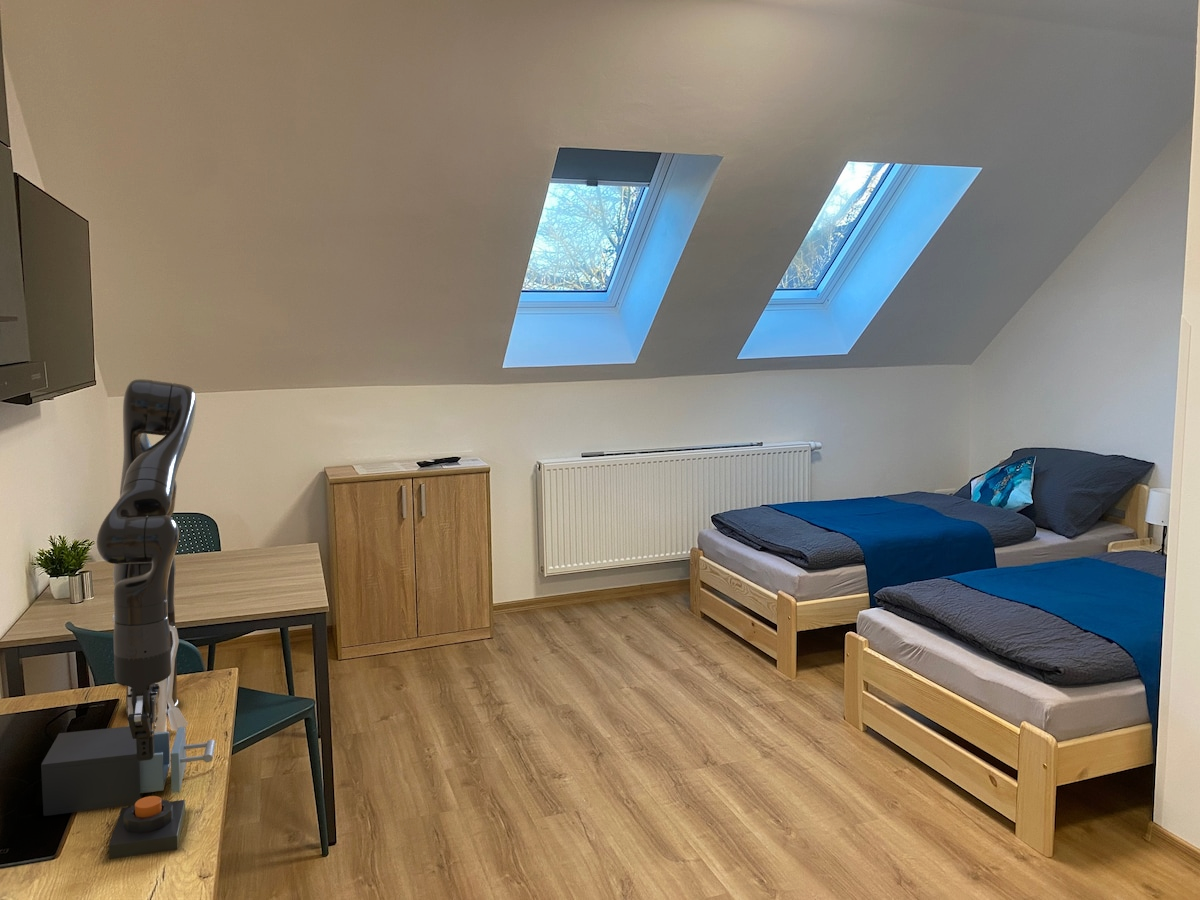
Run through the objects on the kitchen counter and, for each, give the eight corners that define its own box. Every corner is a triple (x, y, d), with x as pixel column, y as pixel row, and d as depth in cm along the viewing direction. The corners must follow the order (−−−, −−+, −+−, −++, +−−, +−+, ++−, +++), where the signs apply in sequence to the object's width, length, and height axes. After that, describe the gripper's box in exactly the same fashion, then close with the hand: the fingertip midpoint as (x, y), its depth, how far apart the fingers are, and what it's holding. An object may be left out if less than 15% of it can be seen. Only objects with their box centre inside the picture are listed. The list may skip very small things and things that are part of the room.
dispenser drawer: (216, 760, 158) (215, 723, 158) (212, 788, 149) (211, 749, 148) (106, 773, 153) (104, 735, 152) (93, 803, 143) (92, 762, 142)
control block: (122, 820, 140) (121, 796, 139) (185, 812, 143) (184, 788, 142) (109, 859, 129) (108, 833, 129) (177, 849, 132) (176, 824, 132)
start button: (137, 808, 137) (136, 797, 136) (163, 805, 138) (162, 794, 138) (133, 820, 133) (132, 809, 133) (160, 817, 134) (159, 806, 134)
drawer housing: (150, 771, 155) (148, 724, 154) (139, 804, 145) (138, 753, 144) (61, 781, 151) (58, 733, 150) (43, 816, 140) (40, 764, 139)
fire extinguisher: (187, 741, 167) (184, 611, 164) (114, 749, 163) (109, 617, 160) (190, 726, 174) (186, 601, 171) (120, 734, 169) (115, 606, 166)
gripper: (164, 661, 128) (167, 775, 130) (175, 631, 140) (178, 736, 142) (105, 665, 125) (109, 782, 127) (122, 635, 137) (125, 741, 140)
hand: (145, 757), depth 135 cm, fingers closed
